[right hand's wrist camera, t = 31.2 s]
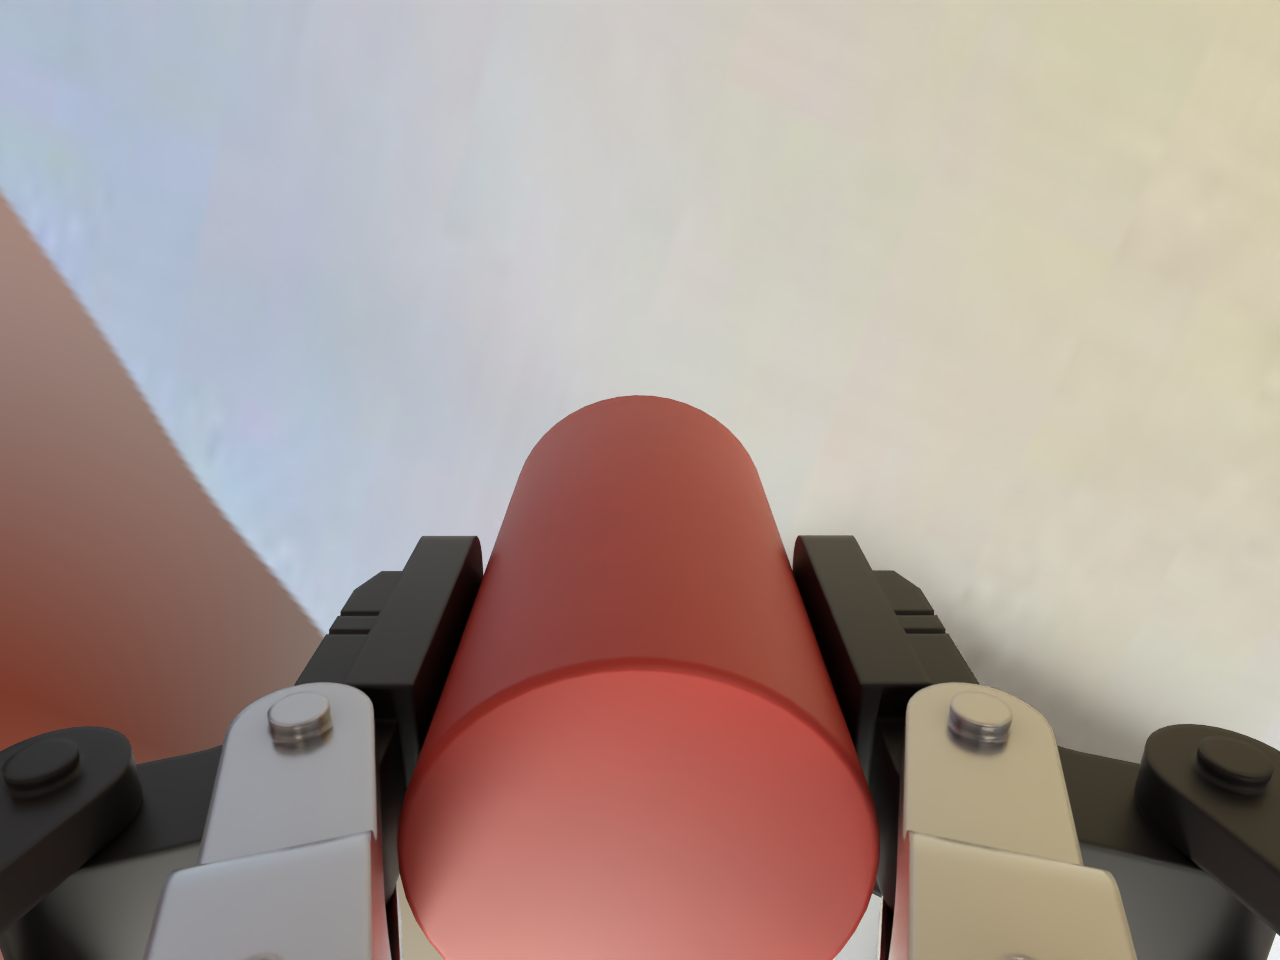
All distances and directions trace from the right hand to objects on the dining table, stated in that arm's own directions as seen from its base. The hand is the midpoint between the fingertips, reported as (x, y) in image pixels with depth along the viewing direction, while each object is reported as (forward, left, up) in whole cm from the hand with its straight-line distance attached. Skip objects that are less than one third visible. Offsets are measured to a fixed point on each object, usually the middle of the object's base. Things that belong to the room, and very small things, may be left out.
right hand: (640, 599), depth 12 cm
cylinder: (0, 0, -3) cm, 3 cm away
